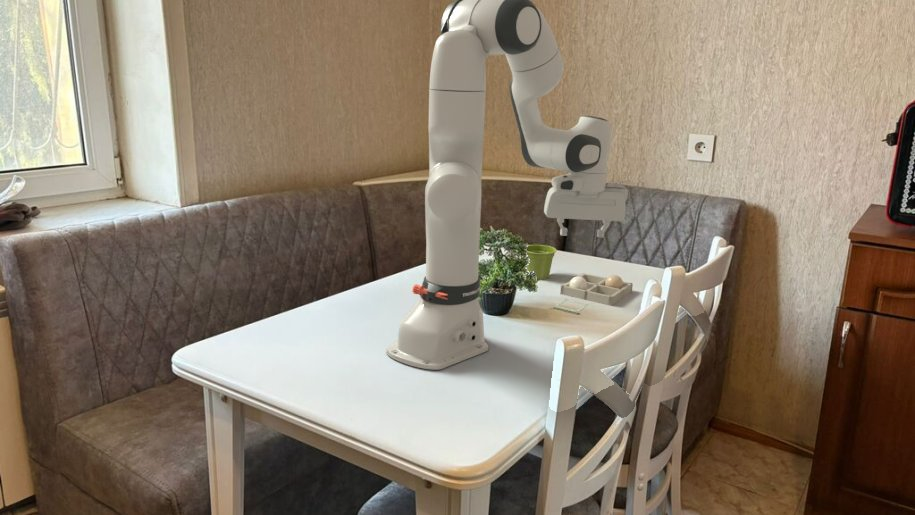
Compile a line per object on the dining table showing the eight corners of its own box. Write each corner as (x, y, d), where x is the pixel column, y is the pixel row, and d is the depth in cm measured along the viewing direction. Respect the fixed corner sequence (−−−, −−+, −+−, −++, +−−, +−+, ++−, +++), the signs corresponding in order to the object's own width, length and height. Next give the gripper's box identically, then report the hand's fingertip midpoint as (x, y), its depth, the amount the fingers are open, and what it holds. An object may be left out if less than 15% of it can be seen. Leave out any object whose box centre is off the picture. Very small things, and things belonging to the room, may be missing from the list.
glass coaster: (577, 314, 166) (577, 311, 166) (553, 309, 169) (553, 306, 169) (588, 307, 171) (588, 304, 171) (565, 302, 174) (565, 299, 174)
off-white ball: (584, 297, 176) (581, 282, 174) (567, 296, 178) (564, 281, 177) (591, 289, 179) (588, 273, 177) (575, 288, 182) (572, 272, 180)
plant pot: (514, 275, 195) (516, 246, 192) (543, 272, 198) (544, 243, 196) (531, 285, 186) (533, 254, 184) (560, 281, 190) (563, 251, 188)
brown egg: (618, 296, 177) (619, 279, 176) (601, 292, 180) (603, 275, 179) (624, 291, 181) (626, 275, 180) (608, 288, 184) (610, 271, 182)
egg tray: (611, 308, 171) (612, 297, 170) (560, 296, 178) (560, 285, 177) (631, 294, 182) (632, 283, 181) (582, 283, 189) (583, 273, 188)
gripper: (625, 182, 174) (618, 235, 178) (545, 178, 173) (540, 231, 177) (632, 186, 168) (625, 241, 172) (550, 182, 167) (544, 237, 171)
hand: (581, 236), depth 175 cm, fingers open, 8 cm apart
